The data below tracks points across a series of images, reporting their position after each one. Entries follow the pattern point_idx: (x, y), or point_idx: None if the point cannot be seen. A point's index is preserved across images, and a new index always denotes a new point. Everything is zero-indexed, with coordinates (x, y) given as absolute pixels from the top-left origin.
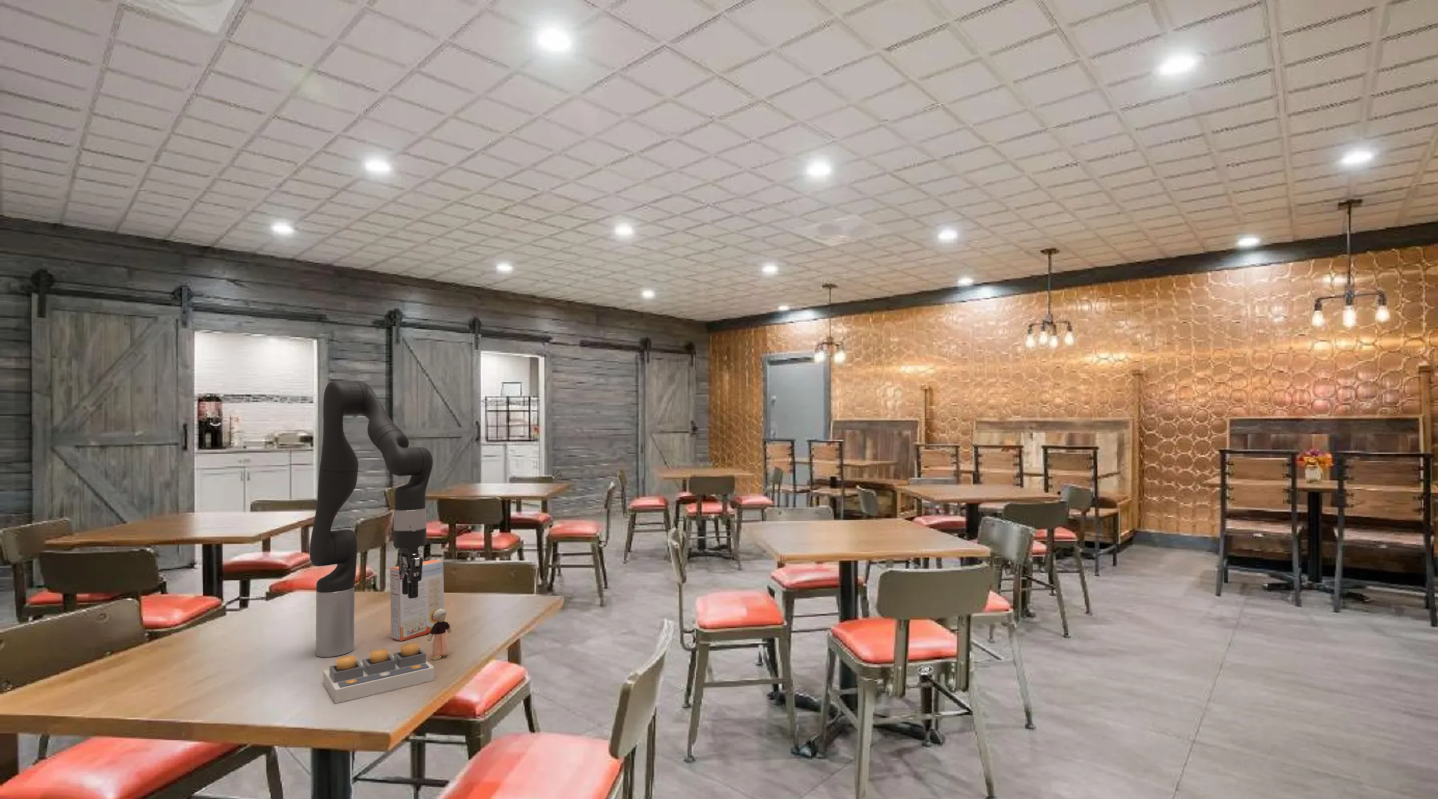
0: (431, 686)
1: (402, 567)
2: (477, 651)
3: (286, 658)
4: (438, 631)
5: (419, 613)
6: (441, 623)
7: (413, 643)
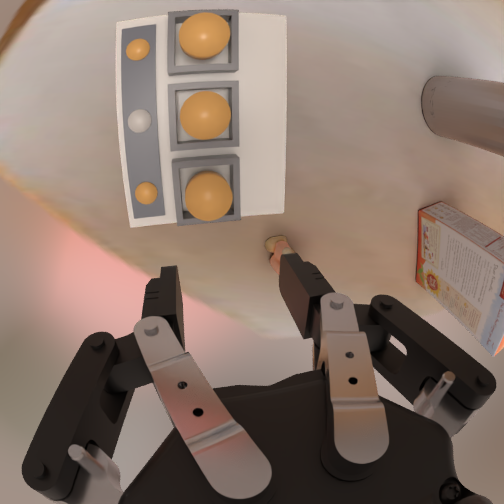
0: (101, 207)
1: (326, 361)
2: (261, 311)
3: (454, 45)
4: None
5: (444, 262)
6: None
7: (219, 209)
